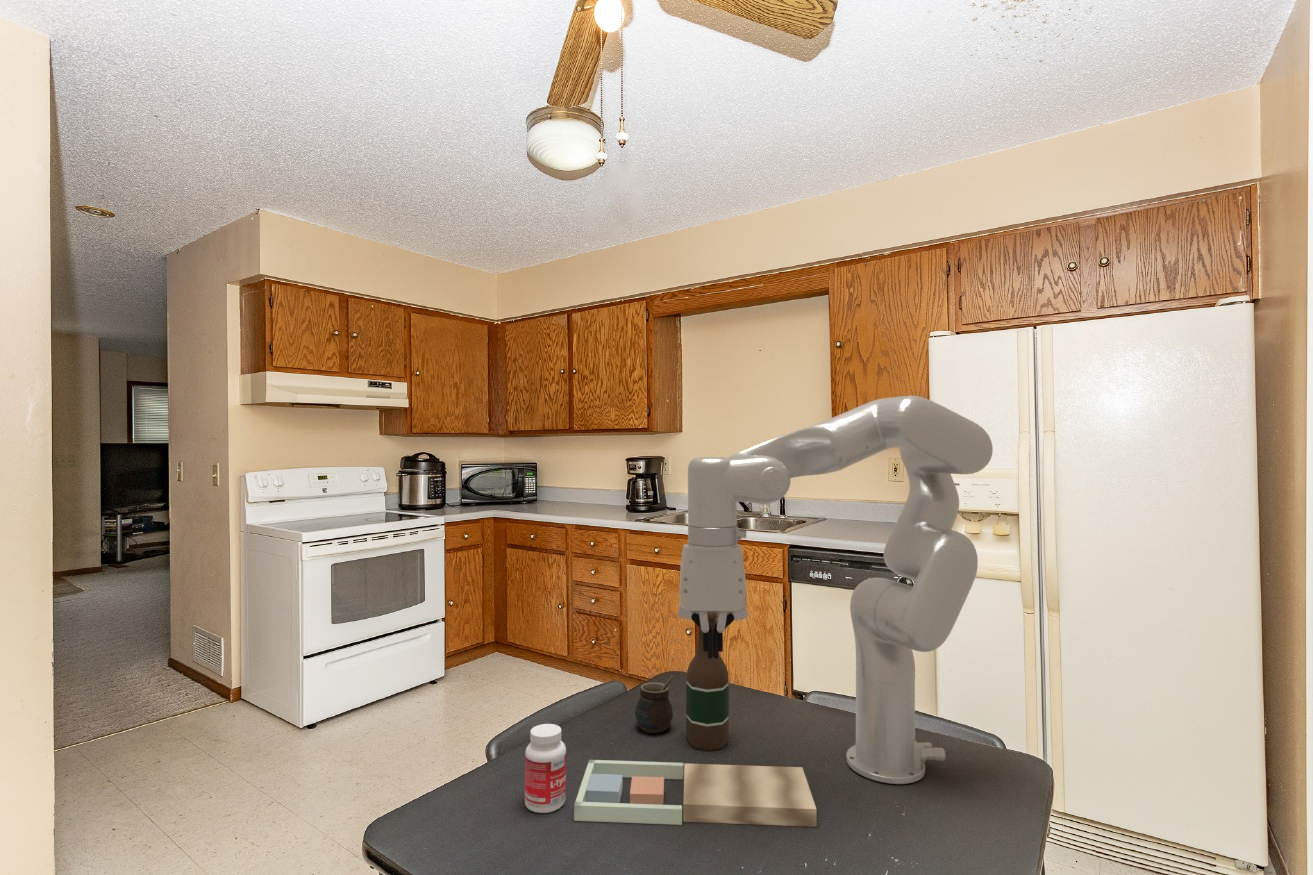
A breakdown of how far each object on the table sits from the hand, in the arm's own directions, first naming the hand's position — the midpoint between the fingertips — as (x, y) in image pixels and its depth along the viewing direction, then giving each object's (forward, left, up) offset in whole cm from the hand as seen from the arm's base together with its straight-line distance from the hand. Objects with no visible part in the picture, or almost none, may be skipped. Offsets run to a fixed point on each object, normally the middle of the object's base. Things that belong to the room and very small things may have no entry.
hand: (712, 655), depth 99 cm
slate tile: (+17, 0, -20) cm, 26 cm away
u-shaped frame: (+12, 0, -22) cm, 25 cm away
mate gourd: (+10, -24, -22) cm, 34 cm away
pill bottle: (+25, +3, -22) cm, 34 cm away
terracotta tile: (+10, +1, -22) cm, 24 cm away
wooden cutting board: (-5, 0, -22) cm, 23 cm away
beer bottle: (0, -19, -22) cm, 29 cm away
